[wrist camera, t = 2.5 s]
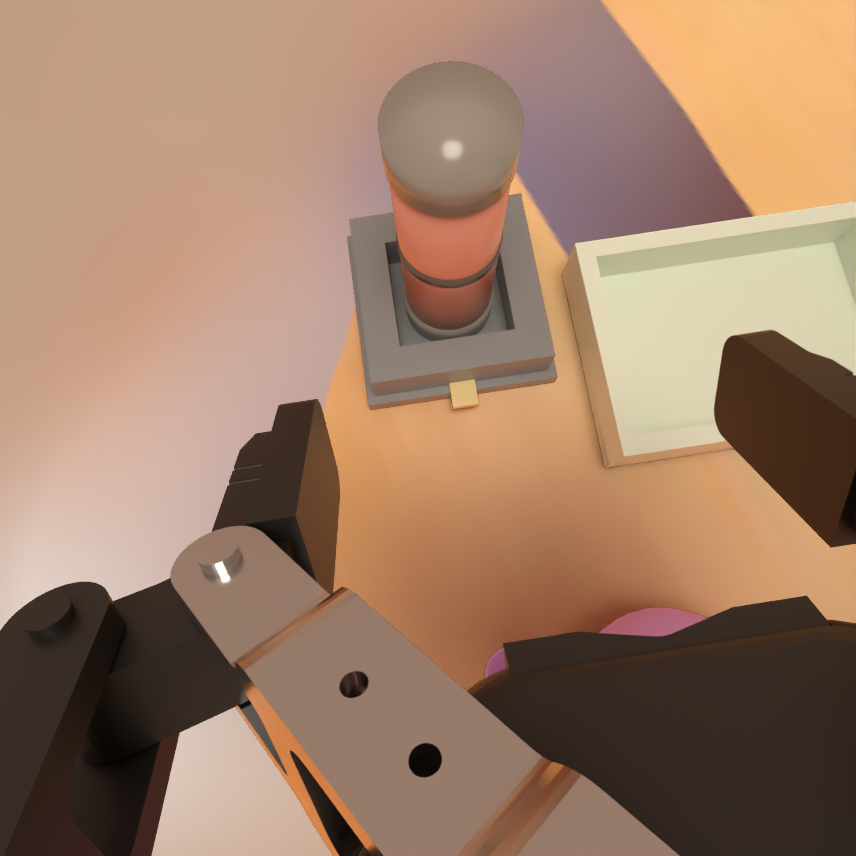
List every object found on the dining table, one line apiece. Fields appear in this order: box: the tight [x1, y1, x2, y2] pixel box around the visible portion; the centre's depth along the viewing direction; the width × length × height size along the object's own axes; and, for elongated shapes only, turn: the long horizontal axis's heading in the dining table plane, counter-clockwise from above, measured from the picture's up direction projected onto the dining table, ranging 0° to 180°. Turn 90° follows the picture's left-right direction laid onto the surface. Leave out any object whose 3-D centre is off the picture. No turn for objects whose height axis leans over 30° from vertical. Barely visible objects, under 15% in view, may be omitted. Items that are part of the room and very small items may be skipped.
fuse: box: [378, 61, 524, 342], centre depth 23 cm, size 4×4×12 cm
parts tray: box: [562, 201, 856, 468], centre depth 27 cm, size 14×10×3 cm
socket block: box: [347, 194, 557, 410], centre depth 28 cm, size 9×11×3 cm
